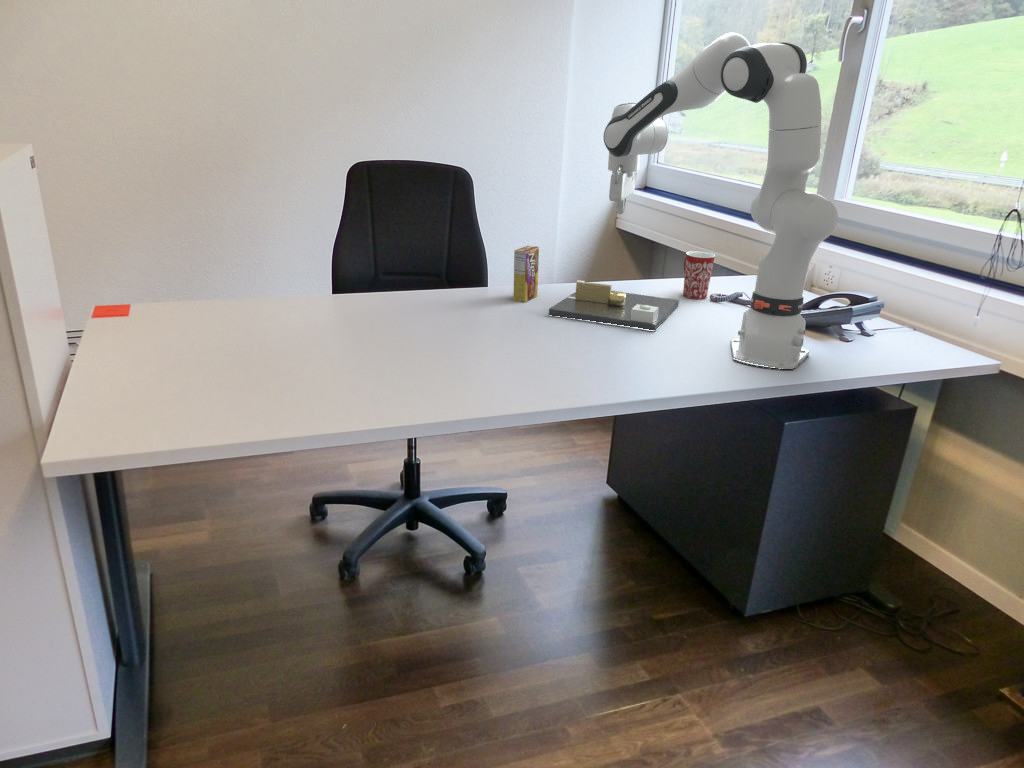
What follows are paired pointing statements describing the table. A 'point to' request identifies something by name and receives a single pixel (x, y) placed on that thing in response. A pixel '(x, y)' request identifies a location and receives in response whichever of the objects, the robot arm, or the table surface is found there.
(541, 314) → the table surface
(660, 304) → the base plate
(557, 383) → the table surface
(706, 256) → the mug
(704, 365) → the table surface
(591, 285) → the brass lever knob
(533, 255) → the candy box
